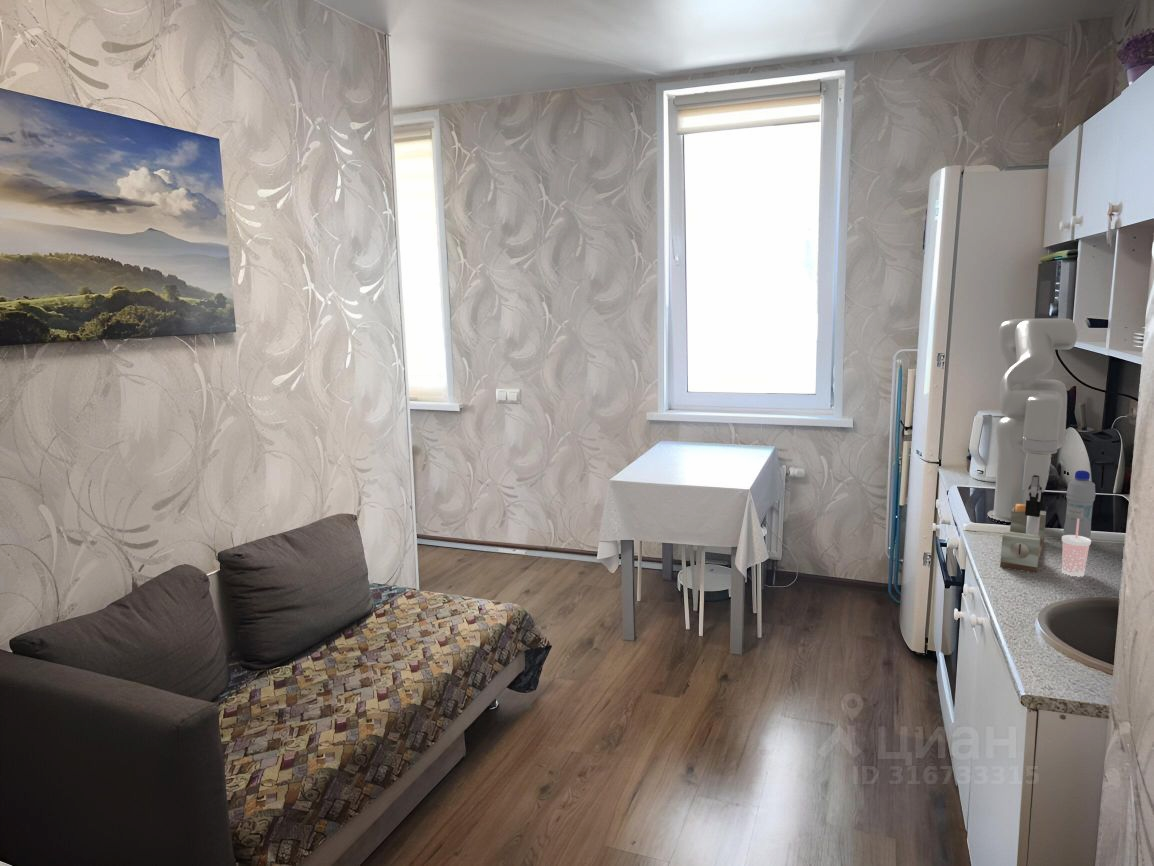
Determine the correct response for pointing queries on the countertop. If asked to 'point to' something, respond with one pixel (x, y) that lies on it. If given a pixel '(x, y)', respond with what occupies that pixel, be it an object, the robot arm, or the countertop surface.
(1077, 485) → the bottle
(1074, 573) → the beverage cup
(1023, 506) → the button
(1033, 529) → the carriage
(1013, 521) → the rail stand
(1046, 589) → the countertop surface
